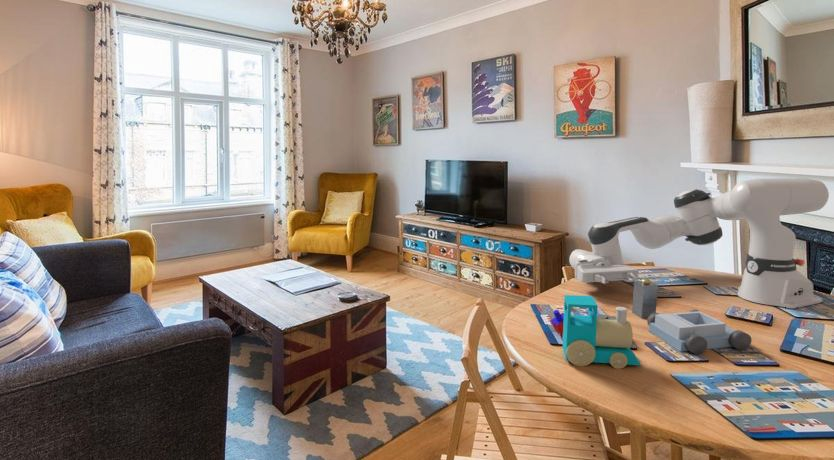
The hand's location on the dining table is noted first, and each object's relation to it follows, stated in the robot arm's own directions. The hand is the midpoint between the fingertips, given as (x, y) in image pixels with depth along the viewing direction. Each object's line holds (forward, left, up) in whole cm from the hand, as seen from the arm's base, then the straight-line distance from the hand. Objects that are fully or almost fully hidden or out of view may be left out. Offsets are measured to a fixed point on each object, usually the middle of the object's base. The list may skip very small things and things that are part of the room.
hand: (620, 280), depth 140 cm
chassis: (-3, +29, -7) cm, 30 cm away
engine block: (0, +12, -7) cm, 14 cm away
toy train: (+27, +36, -7) cm, 45 cm away
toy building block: (+29, +19, -7) cm, 35 cm away
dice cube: (+18, +24, -7) cm, 31 cm away
